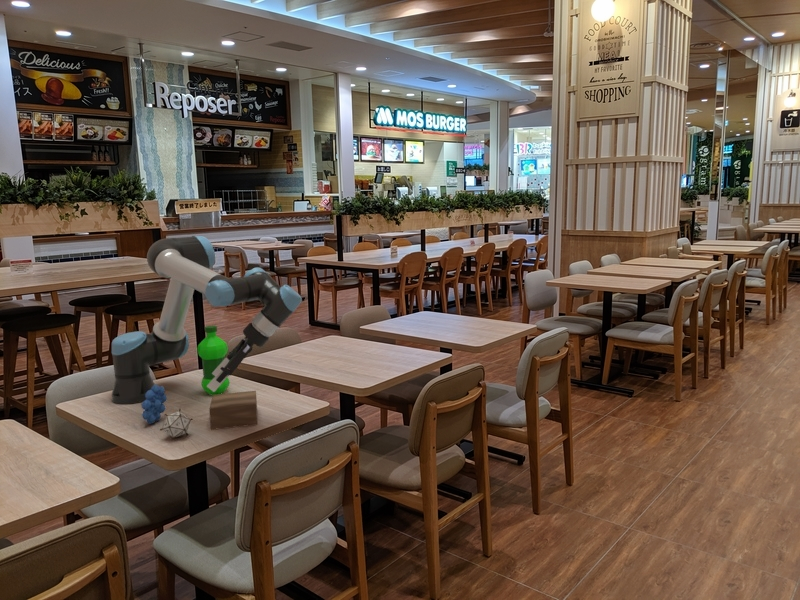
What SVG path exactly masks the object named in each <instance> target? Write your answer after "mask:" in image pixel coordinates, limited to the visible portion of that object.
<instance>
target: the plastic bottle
mask: <svg viewBox="0 0 800 600" xmlns="http://www.w3.org/2000/svg"><path fill="white" fill-rule="evenodd" d="M217 332H218V326H217V325H206V326H204V333H206V336H205V337H204V338H203V339H202V340H201V342H199V344H198V345H197V354H198V356H199V357H200V358H201V362H202V372H203V373H202V374H203V378H202V380H201V382H200V383H201V385H200V386H201V388H202V390H204V391H205V392H206V393H207V394H208V395H210V396H212V395H216V394H221V393H222V394H224V392H225V391H226V390H227V389H228V388H229V386H230V379H229V376H228V377H227V378H226V380H225V381H224V382H223V383H222V384H221V385H220V386H219V387H218V388H217V390H216V391H215V392H213V391H212V390H210V389H209V388H208V387H207V385H208V384H209V383H210V382H211V381H212V380H213V378H214V377H215V376H214V375H213V374H212V373H213V371H214V370H215V369H216V368H217V367H218V366H219V365H220V364H221V363H222V362H223V360H224V359H225V358H226V356H227V355H228V351H229V348H228V345H227V342H225V340H223V339H222V338H221V337H219V336H217Z"/></svg>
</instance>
